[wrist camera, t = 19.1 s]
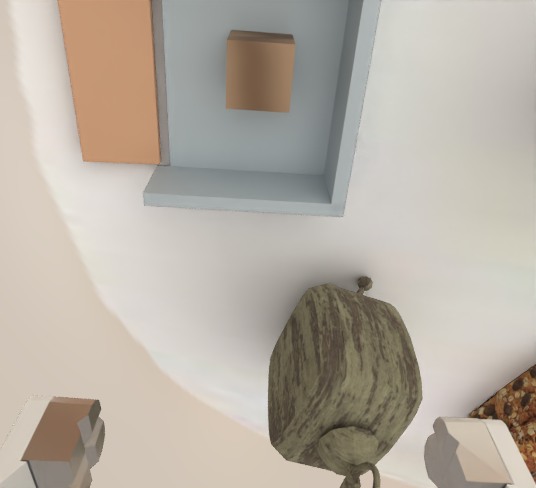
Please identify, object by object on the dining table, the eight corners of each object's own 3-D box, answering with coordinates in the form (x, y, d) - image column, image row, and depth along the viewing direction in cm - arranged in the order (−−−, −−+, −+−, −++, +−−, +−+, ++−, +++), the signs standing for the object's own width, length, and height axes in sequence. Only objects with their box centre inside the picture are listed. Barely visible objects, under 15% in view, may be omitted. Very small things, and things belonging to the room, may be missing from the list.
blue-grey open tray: (375, -87, 34) (398, -96, 28) (333, 182, 46) (342, 217, 40) (143, -106, 34) (115, -119, 28) (160, 171, 45) (144, 205, 39)
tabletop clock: (330, 355, 59) (364, 578, 38) (264, 336, 57) (263, 559, 36) (385, 270, 52) (466, 488, 31) (312, 246, 50) (345, 459, 29)
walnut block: (292, 34, 38) (295, 44, 33) (287, 96, 40) (289, 112, 36) (231, 29, 37) (226, 39, 33) (230, 92, 40) (225, 108, 36)
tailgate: (144, -82, 33) (43, -91, 32) (159, 164, 43) (83, 161, 43) (147, -81, 34) (50, -90, 34) (161, 158, 44) (87, 155, 44)
